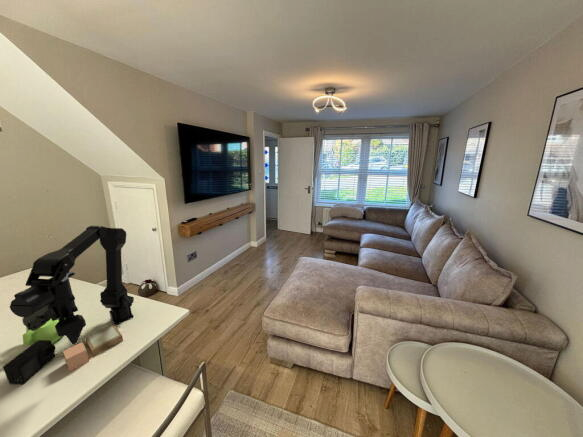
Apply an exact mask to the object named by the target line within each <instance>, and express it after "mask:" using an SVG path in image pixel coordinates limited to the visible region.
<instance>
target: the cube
mask: <svg viewBox="0 0 583 437" xmlns="http://www.w3.org/2000/svg"><path fill="white" fill-rule="evenodd" d="M62 353H63V356H64V360H65V364H66V366H67V368H68V371H69V372H72V371H73V370H76V369H77V368H79V367H82V366H83V365H85V364H87V363H88V362H90V358H89V354H88V351H87V349H86V346H85V345H84V342H80V343H76V344H74V345H72V346H71V347H69V348H67V349H65V350H63V351H62Z"/></svg>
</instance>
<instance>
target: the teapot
mask: <svg viewBox="0 0 583 437" xmlns="http://www.w3.org/2000/svg"><path fill="white" fill-rule="evenodd" d="M58 322H59V320H58V319H57V320H55V321H52V319H50V320H49V321H48V322H46V324H45V325H43V326H41V327H40V328H38V329H36V330H35V331H31V330H28V328H27V327H26V326H25V328H26V331H25V333H23V334H22V345H23V346H31V345H33V344H34V343H35V342H37V341H38V340H51V343H52V345H55V342H56V341H58V340H60V339H61V338H62V337H59V336H58V334H57V331H56V329H55V325H56V324H57V323H58Z"/></svg>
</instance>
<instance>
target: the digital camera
mask: <svg viewBox="0 0 583 437" xmlns="http://www.w3.org/2000/svg"><path fill="white" fill-rule="evenodd" d="M56 348H57V347H56V344H54V345H52V343H51V340H38V341H37V342H35V343H34V344H33V345H29V346H28V347H27V348H25V349H24V350H23V351H22V352H21V353H19V354H18V355H17V356H15V357H13V358H12V359H11V360H10V361H9V362H7V363H6V364H5V365H3V366H2V369H3V371H4V374H5V377H6V379H7V381H8V385H25V384H26V383H27V382H28V381H29V380H30V379H32V378H33V377H34V376H35V375H36V374H38V372H40V371H41V370H43V368H44V367H45V366H47V365H48V364H49V363H50V362H52V361H53V359H55V357H56V353H55V352H56Z"/></svg>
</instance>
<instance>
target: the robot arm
mask: <svg viewBox="0 0 583 437" xmlns="http://www.w3.org/2000/svg"><path fill="white" fill-rule="evenodd" d="M98 240H99V244H100V245H101V247H102V248H103V249H104V250H105V268H106V269H105V271H106V287H105V288H104V290H103V291H101V292H100V293H99V295H100V300H99V302H100V303H101V305H102V306H104V308H105V309H110V311H109V317H110V321H112V323H114V325H119V324H121V323H124V322H126V321H128V320H130V319H133V318H134V314H133V313H132V312H133V311H132V306H133V304H134V299H135V298H134V296H130V295H128V289H127V288H126V287H125V285H124V284H123V274H122V273H123V272H122V271H123V268H122V265H123V264H122V249H123V247H124V246H125V244H126V242H127V241H126V240H127V232H126V230H125V229H123V228H121V227H106V226H103V225H90V226H87V227H86V228H85V230H84V231H82V232H81V233H79V235H77V236H76V237H74V238H73V239H72V240H71V241H69V242H68V243H66V244H65V245H64V246H62V248H59V249H58V250H55V251H50V252H48V253H46V254H43V255H42V256H40V257H39V258H37V259H36V260H35V261H34V262H33V263H32V265H33V266H32V268H31V269H30V270H31V271H30V272H29V274H28V277H27V280H26V281H25V282H26V283H25V284H24V285H25V287H28V288H26V289H24V290H21V291H20V292H17V293H16V294H14V295H13V296H14V299H12V300H11V302H10V305H9V309H10V311H11V312H12V313H13V314H14V315H16V316H17V317H20V318H22V319H21V321H22V324H23V326H25V328H26V327H27V328H28V330H31V331H35V330H36V329H38V328H40V327H41V326H43V325H45V324H46V322H48V321H49V320H50V319H52V321H55V320H57V319H58V320H59V322H58V323H57V324H56V325H55V329H56V331H57V334H58V336H59V337H61V338H62V337H65V336H66V338H67V340H68V341H69V342H70V343H71V345H72V346H75V345H77V344H78V341H79V338H80V337H81V333H82V332H83V329H84V328H85V327H86V326H87V323H86V319H85V318H84V316H83V315H81V314H79V313H78V314H75V312H78V311H79V309H78V306H77V305H76V302H75V300H76V297H75V295H74V293H73V291H72V290H73V289H72V286H71V282H70V278H71V277H73V276H75V274H76V272H71V269H72V268H73V267H74V266H75V262H76V259H77V258H79V257H80V256H81V255H82V254H83V253H84V252H86V250H88V249H90V248H91V246H92V245H94V244H95V243H96V242H97V241H98ZM40 277H42V278H40ZM43 277H44V278H43ZM47 277H48V278H47Z"/></svg>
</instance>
